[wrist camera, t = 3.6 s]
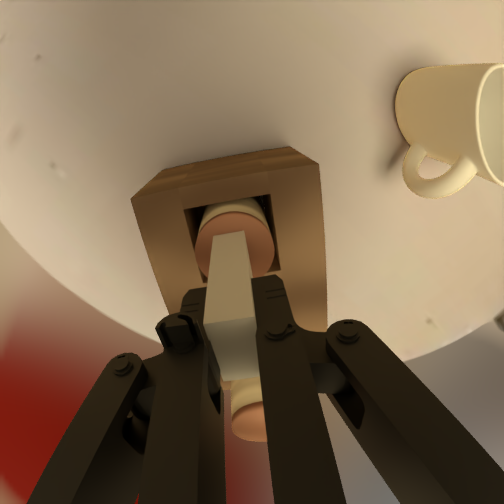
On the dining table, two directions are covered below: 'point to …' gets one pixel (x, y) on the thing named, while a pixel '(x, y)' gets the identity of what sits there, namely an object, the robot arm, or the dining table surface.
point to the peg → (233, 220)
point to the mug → (453, 125)
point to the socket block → (231, 188)
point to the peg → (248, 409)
